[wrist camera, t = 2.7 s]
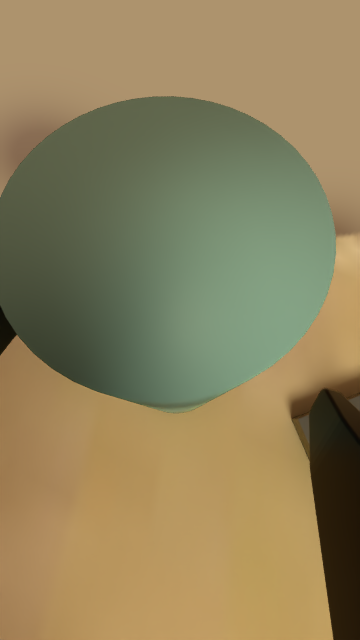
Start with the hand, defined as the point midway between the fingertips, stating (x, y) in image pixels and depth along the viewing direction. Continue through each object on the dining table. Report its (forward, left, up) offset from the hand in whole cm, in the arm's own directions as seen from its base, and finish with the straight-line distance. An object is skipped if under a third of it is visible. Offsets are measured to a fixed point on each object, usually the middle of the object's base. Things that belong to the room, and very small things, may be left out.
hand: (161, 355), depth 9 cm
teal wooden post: (+1, +1, -9) cm, 9 cm away
